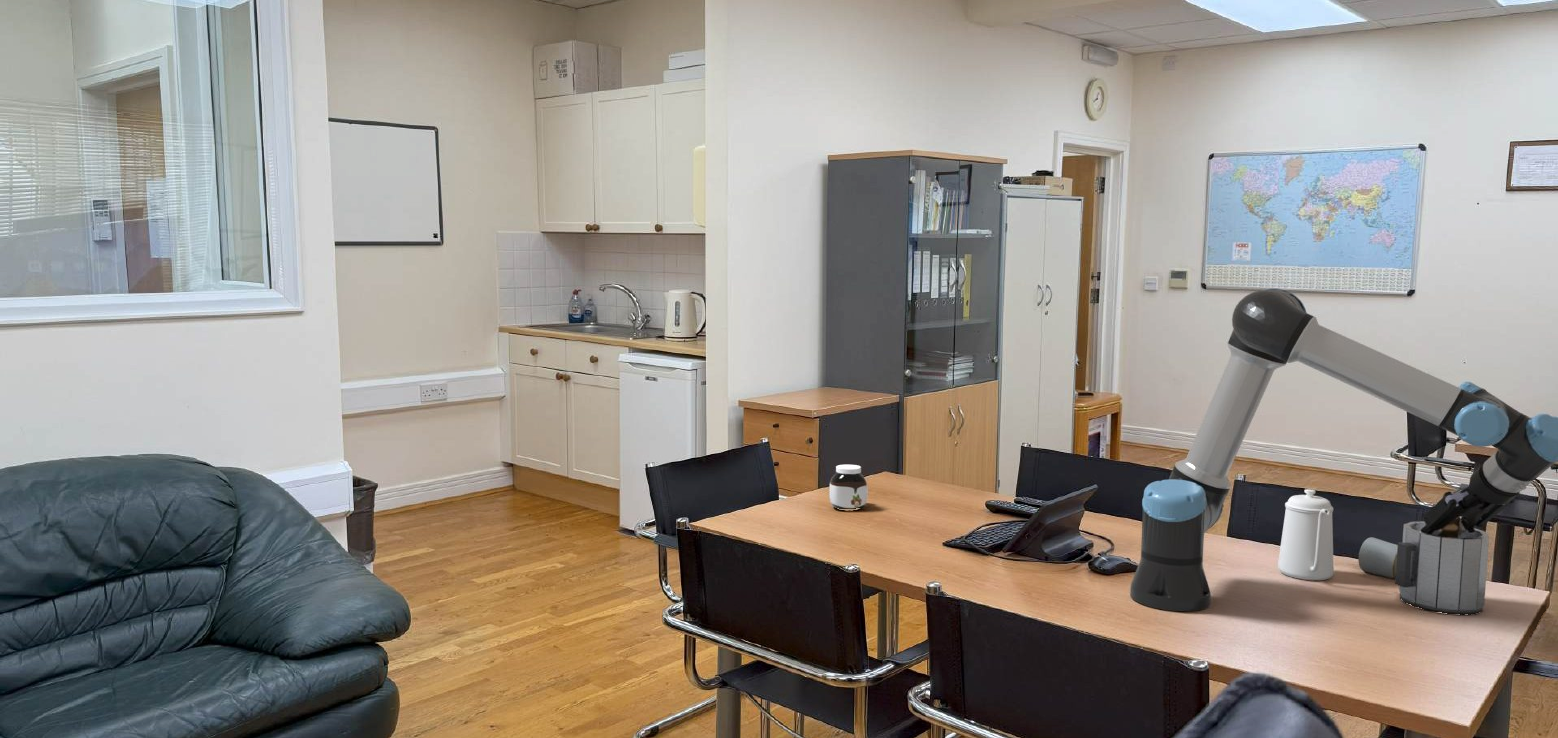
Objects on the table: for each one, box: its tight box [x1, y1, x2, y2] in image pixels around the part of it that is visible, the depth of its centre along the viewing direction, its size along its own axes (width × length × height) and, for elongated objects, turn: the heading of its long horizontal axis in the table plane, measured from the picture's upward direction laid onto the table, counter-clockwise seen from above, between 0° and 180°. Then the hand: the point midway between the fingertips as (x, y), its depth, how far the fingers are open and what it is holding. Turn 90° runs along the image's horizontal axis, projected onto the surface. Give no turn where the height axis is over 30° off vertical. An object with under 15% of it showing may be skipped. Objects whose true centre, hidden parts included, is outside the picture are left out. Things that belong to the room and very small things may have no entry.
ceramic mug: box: [1358, 536, 1398, 580], centre depth 230 cm, size 11×8×8 cm
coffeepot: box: [1277, 489, 1335, 582], centre depth 228 cm, size 11×25×19 cm, turn 168°
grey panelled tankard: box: [1394, 520, 1490, 616], centre depth 210 cm, size 16×14×15 cm
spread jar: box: [828, 464, 869, 509], centre depth 290 cm, size 12×11×12 cm
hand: (1430, 541), depth 213 cm, fingers closed on plunger, 4 cm apart
